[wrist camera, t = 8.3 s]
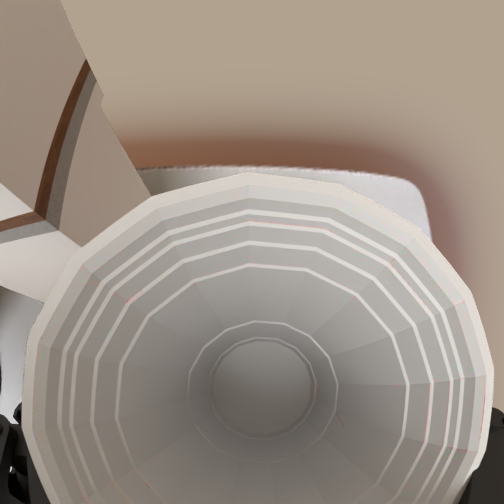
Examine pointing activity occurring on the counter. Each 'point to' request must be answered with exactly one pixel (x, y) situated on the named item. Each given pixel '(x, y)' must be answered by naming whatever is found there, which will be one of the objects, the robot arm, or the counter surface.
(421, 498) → the plastic cup
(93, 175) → the white dispenser
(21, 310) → the counter surface
